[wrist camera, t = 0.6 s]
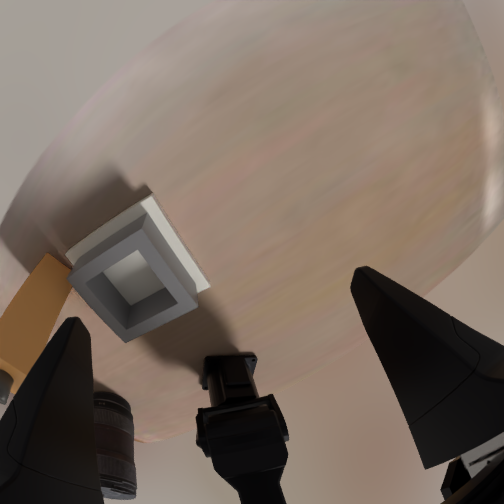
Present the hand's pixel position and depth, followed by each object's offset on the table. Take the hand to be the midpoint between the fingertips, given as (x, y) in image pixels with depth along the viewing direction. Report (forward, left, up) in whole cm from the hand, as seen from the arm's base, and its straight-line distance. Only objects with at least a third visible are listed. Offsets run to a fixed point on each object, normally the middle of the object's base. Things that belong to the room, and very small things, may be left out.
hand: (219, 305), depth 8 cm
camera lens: (-32, +11, -16) cm, 38 cm away
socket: (-8, +5, -16) cm, 19 cm away
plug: (-10, +14, -16) cm, 24 cm away
